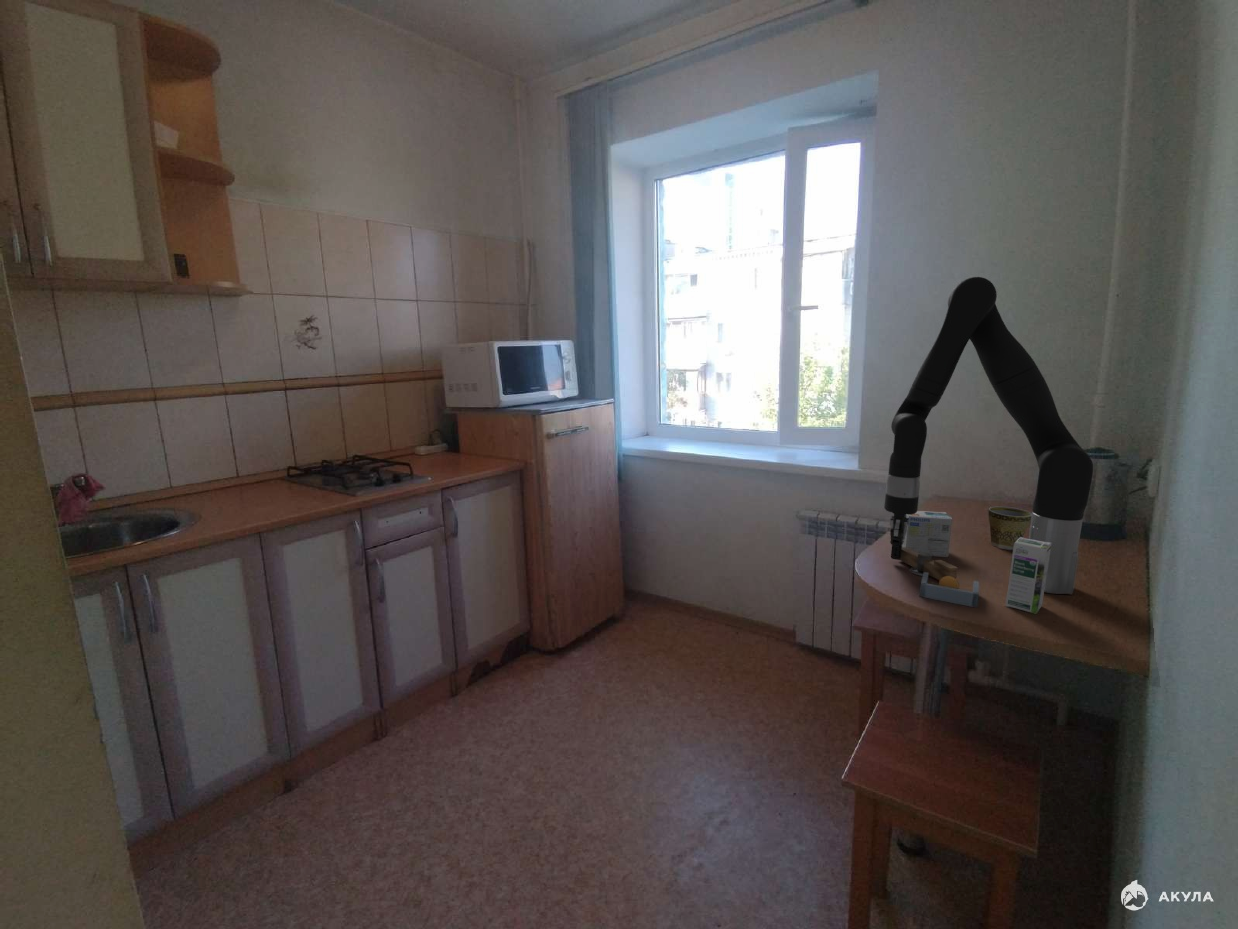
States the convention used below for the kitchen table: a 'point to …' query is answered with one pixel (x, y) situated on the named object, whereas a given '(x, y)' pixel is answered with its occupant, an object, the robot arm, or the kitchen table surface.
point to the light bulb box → (928, 533)
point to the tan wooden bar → (928, 564)
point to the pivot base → (917, 572)
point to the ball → (949, 582)
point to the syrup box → (1028, 574)
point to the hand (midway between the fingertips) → (895, 558)
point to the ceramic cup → (1007, 525)
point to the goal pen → (949, 593)
